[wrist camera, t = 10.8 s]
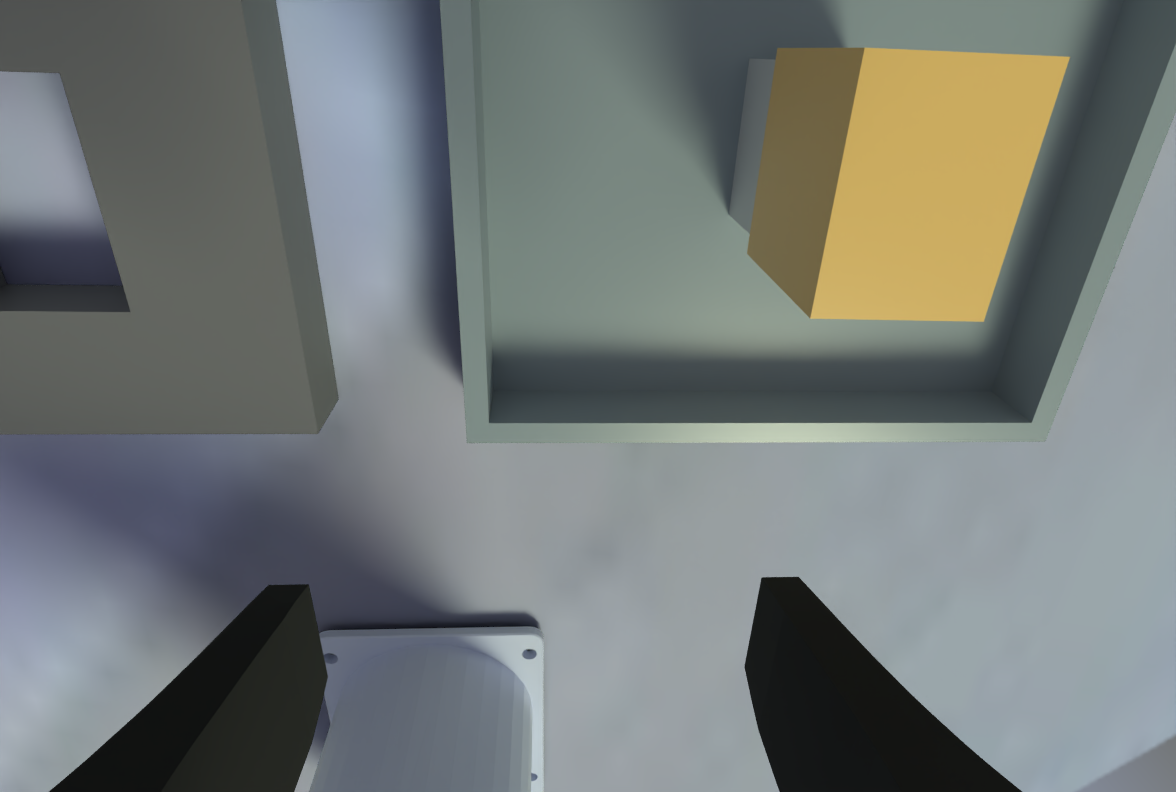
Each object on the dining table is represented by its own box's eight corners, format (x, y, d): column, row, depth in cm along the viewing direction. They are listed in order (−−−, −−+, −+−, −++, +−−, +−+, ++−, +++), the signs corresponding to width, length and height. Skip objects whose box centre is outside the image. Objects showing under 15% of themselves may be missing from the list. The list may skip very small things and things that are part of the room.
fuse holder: (338, 399, 20) (317, 433, 18) (-95, 398, 19) (-161, 434, 17) (259, -102, 14) (218, -124, 13) (-352, -130, 14) (-488, -157, 12)
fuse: (829, 225, 18) (984, 321, 11) (716, 222, 17) (810, 318, 11) (863, 53, 16) (1070, 56, 10) (737, 48, 16) (864, 47, 9)
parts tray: (992, 399, 21) (1045, 441, 19) (475, 399, 20) (466, 442, 18) (1188, -172, 15) (1303, -211, 12) (443, -213, 14) (422, -265, 11)
